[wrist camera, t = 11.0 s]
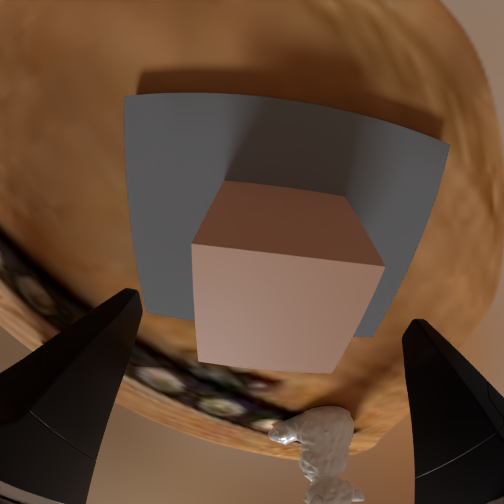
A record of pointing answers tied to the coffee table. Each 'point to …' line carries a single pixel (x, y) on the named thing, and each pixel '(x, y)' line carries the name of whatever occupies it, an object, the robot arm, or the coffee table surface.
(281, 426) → the white creature statuette
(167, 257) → the charcoal mat
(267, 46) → the coffee table surface
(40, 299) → the coffee table surface
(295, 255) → the terracotta cube
